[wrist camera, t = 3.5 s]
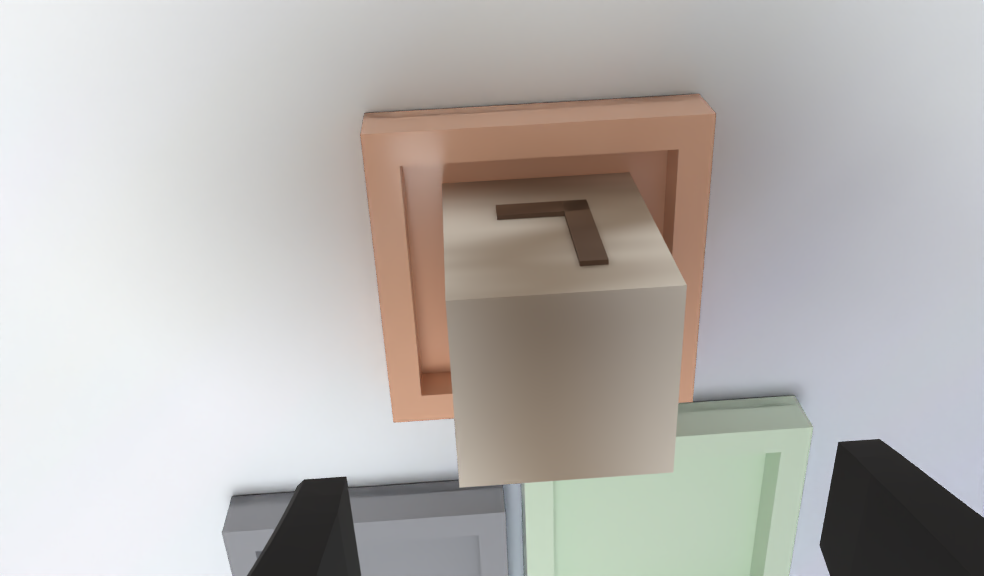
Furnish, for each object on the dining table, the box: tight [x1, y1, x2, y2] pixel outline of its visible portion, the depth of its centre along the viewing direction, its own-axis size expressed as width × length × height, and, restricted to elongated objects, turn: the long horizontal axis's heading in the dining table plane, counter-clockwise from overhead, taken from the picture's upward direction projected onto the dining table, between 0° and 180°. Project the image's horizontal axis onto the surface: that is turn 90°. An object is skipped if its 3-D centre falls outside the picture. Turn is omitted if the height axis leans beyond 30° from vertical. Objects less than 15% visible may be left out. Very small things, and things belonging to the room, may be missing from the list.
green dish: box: [521, 396, 813, 576], centre depth 24 cm, size 7×7×1 cm
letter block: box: [442, 172, 687, 488], centre depth 18 cm, size 4×4×5 cm
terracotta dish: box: [360, 94, 716, 422], centre depth 20 cm, size 7×7×1 cm
